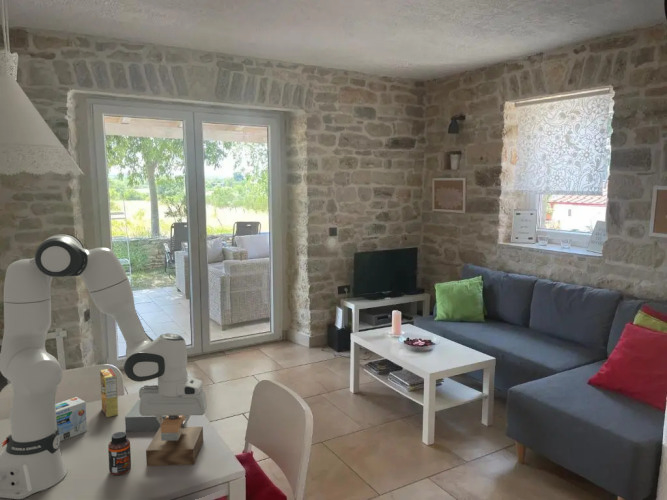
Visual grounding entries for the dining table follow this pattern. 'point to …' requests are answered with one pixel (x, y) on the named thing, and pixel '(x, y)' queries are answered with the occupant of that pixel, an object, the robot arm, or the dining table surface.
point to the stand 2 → (175, 448)
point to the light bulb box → (71, 418)
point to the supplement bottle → (119, 454)
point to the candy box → (109, 392)
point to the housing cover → (172, 424)
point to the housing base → (171, 435)
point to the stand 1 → (140, 420)
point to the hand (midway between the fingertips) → (173, 427)
